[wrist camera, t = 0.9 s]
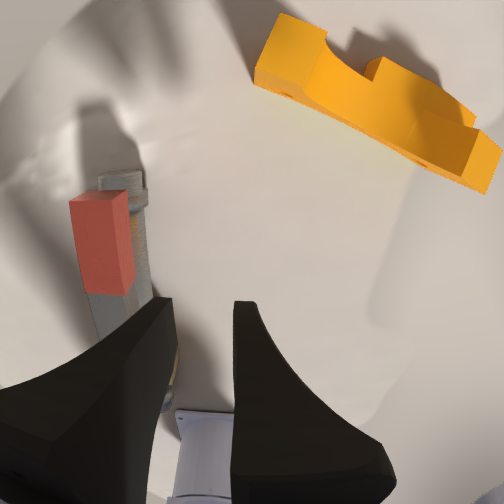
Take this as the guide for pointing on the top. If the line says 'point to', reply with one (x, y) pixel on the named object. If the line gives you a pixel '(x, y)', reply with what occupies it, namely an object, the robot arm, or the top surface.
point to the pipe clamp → (378, 103)
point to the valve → (138, 241)
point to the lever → (106, 256)
